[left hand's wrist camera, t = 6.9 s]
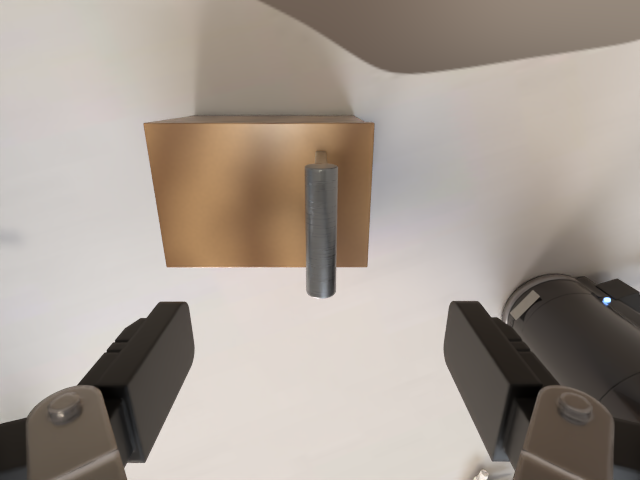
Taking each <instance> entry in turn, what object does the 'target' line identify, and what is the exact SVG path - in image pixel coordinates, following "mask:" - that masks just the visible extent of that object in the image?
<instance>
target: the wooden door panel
mask: <svg viewBox="0 0 640 480" xmlns="http://www.w3.org/2000/svg"><path fill="white" fill-rule="evenodd" d="M144 130H145V136H146V142H147V148H148V155H149V161H150V167H151V173H152V179H153V185H154V192H155V198H156V204H157V210H158V216H159V222H160V229H161V235H162V241H163V247H164V253H165V259H166V265H167V267H306V291H307V294H308V295H309V296H311V297H314V298H328V297H331V296H333V295H334V294H335V292H336V267H367V263H368V243H369V223H370V203H371V183H372V164H373V144H374V123H373V122H148V123H144Z"/></svg>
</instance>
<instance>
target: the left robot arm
mask: <svg viewBox="0 0 640 480" xmlns="http://www.w3.org/2000/svg"><path fill="white" fill-rule="evenodd" d="M444 357H445V362H446V365H447V367H448V369H449V371H450V373H451V375H452V377H453V380H454V382H455V384H456V386H457V388H458V390H459V392H460V394H461V396H462V399H463V401H464V403H465V405H466V407H467V409H468V411H469V413H470V415H471V418H472V420H473V422H474V424H475V426H476V428H477V430H478V432H479V434H480V437H481V439H482V441H483V443H484V445H485V447H486V449H487V451H488V454H489V456H490V458H491V460H492V461H510V462H511V464H512V466H513V468H514V470H515V474H514V477H513V480H640V293H639V291H637V290H635V289H634V288H632V287H630V286H629V285H627V284H625V283H624V282H622V281H620V280H619V279H614V280H611V281H608V282H604V283H601V284H598V285H597V284H595V283H594V282H592V281H591V280H589V279H588V278H586V277H585V276H584V277H580V278H572V277H570V276H567V275H561V274H551V275H544V276H540V277H537V278H535V279H532V280H530V281H528V282H527V283H525V284H523V285H522V286H521V287H519V288H518V289H517V290H516V291H515V292H514V293H513V294H512V295H511V297H510V298H509V300H508V301H507V303H506V305H505V308H504V311H503V316H502V320H500V319H499V318H497V317H490V315H489V314H488V313H487V311H486V310H485V309H484V308H483V306H482V305H481V304H480V303H479V302H478V301H452V302H451V303H450V306H449V311H448V318H447V325H446V332H445V339H444ZM193 358H194V339H193V332H192V325H191V318H190V312H189V307H188V304H187V303H186V302H159V303H158V304H157V305H156V307H155V308H154V309H153V310H152V312H151V313H150V314H149V316H148V317H147V318H140V319H139V320H137V321H136V322H134V323H133V324H131V325H129V326H128V327H126V328H125V329H124V330H123V331H122V333H121V334H120V335H119V336H118V337H117V339H116V340H115V343H112V345H111V346H110V347H109V348H108V349H107V352H106V353H104V354H103V355H102V356H101V358H100V359H99V360H98V361H97V362H96V363H95V365H94V366H93V367H92V368H91V369H90V371H89V372H88V373H87V374H86V375H85V377H84V378H83V379H82V380H81V381H80V382H79V384H78V385H77V386H73V387H69V388H66V389H63V390H60V391H58V392H56V393H54V394H52V395H50V396H48V397H47V398H45V399H44V400H42V401H41V402H40V403H39V404H37V405H36V406H35V407H34V408H33V409H32V411H31V412H30V413H29V415H28V417H27V418H23V419H19V420H15V421H11V422H6V423H2V424H0V480H127V477H126V474H125V470H124V467H125V466H126V464H127V463H145V462H146V460H147V458H148V455H149V453H150V451H151V449H152V447H153V445H154V443H155V441H156V439H157V437H158V435H159V432H160V430H161V428H162V426H163V424H164V422H165V420H166V418H167V416H168V414H169V412H170V409H171V407H172V405H173V403H174V401H175V399H176V397H177V395H178V393H179V391H180V389H181V387H182V384H183V382H184V380H185V378H186V376H187V374H188V372H189V370H190V368H191V365H192V363H193Z"/></svg>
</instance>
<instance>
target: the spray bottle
mask: <svg viewBox="0 0 640 480" xmlns="http://www.w3.org/2000/svg"><path fill="white" fill-rule="evenodd" d="M488 476H489V474H488V472H487V471H486V470H483V469H482V470H481V471H480V473H479V475H478V476H475V478H474V479H473V480H487V478H488Z"/></svg>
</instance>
